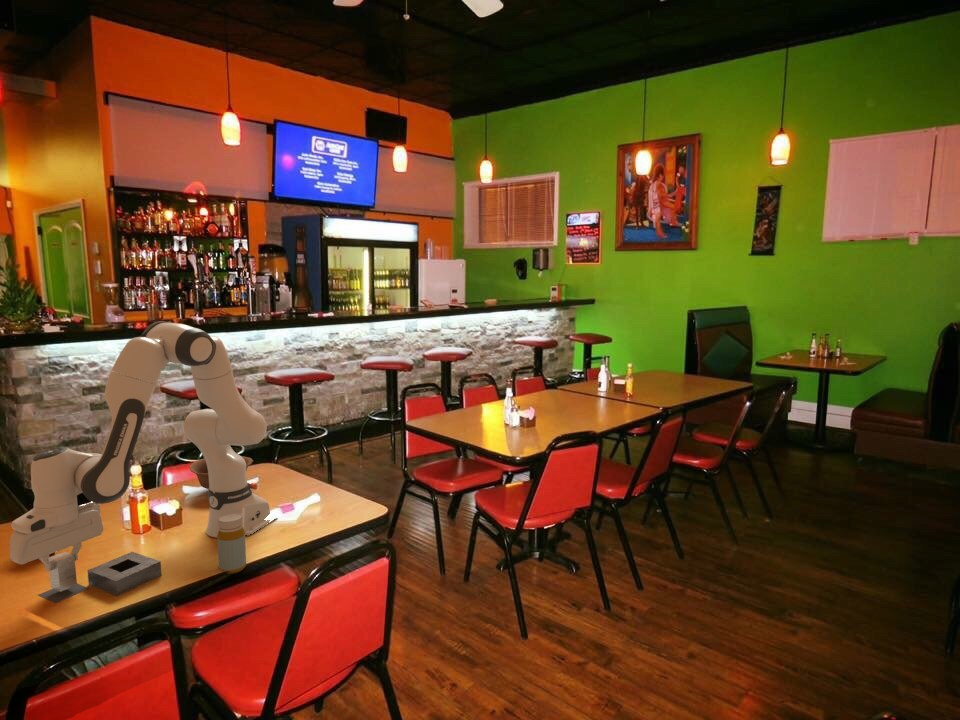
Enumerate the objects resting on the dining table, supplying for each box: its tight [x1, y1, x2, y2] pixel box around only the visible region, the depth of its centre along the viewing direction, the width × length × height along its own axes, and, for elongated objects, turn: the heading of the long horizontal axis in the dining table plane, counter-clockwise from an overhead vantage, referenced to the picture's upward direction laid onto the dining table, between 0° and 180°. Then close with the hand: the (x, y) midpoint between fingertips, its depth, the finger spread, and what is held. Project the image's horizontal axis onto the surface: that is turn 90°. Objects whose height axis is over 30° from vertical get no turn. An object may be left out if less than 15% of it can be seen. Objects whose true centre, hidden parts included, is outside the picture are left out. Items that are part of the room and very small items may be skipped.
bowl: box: [188, 455, 254, 490], centre depth 227 cm, size 22×22×11 cm
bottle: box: [217, 513, 247, 575], centre depth 167 cm, size 7×7×15 cm
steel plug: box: [47, 551, 78, 592], centre depth 153 cm, size 4×4×8 cm
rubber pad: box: [37, 583, 90, 604], centre depth 153 cm, size 8×8×1 cm
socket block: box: [87, 551, 162, 597], centre depth 159 cm, size 12×12×5 cm
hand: (61, 565), depth 152 cm, fingers closed on steel plug, 4 cm apart
